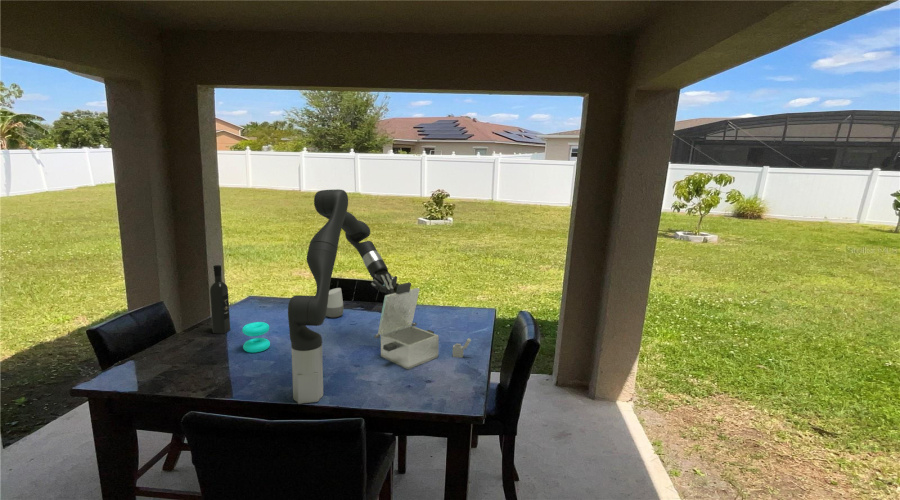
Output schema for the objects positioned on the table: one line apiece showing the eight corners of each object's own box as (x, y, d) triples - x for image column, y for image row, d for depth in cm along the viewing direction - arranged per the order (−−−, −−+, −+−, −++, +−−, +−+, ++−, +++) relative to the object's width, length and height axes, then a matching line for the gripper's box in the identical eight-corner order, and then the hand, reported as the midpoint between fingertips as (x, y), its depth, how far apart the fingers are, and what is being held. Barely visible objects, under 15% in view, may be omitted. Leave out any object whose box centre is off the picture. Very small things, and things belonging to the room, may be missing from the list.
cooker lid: (379, 335, 170) (377, 333, 171) (411, 325, 182) (409, 323, 183) (388, 288, 163) (386, 287, 164) (421, 281, 176) (419, 280, 176)
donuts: (268, 328, 172) (240, 330, 168) (270, 352, 174) (242, 355, 170) (269, 320, 181) (243, 322, 178) (270, 342, 183) (244, 345, 179)
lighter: (452, 356, 174) (452, 337, 172) (453, 355, 175) (453, 336, 174) (469, 358, 172) (470, 339, 171) (470, 357, 174) (471, 338, 172)
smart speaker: (324, 313, 222) (323, 287, 220) (342, 312, 225) (342, 286, 222) (324, 319, 213) (324, 292, 211) (344, 318, 216) (343, 291, 213)
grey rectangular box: (371, 359, 169) (371, 335, 168) (416, 342, 187) (416, 321, 185) (399, 372, 158) (400, 347, 157) (445, 354, 176) (445, 331, 174)
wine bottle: (231, 329, 196) (227, 264, 191) (223, 334, 191) (219, 267, 186) (219, 329, 197) (215, 264, 192) (211, 333, 191) (206, 266, 186)
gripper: (365, 260, 174) (385, 296, 168) (391, 256, 184) (410, 290, 178) (357, 271, 178) (376, 306, 172) (383, 267, 188) (401, 300, 182)
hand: (393, 298), depth 175 cm, fingers closed
